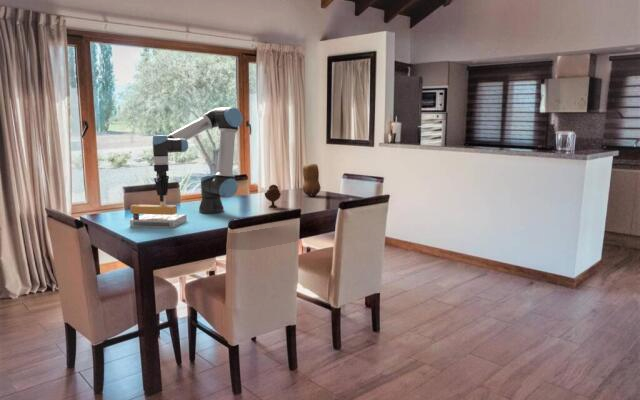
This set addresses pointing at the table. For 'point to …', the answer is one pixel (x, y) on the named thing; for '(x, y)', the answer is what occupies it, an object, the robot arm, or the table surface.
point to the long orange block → (154, 209)
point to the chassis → (157, 220)
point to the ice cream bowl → (273, 195)
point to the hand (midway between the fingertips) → (163, 207)
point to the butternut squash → (311, 179)
